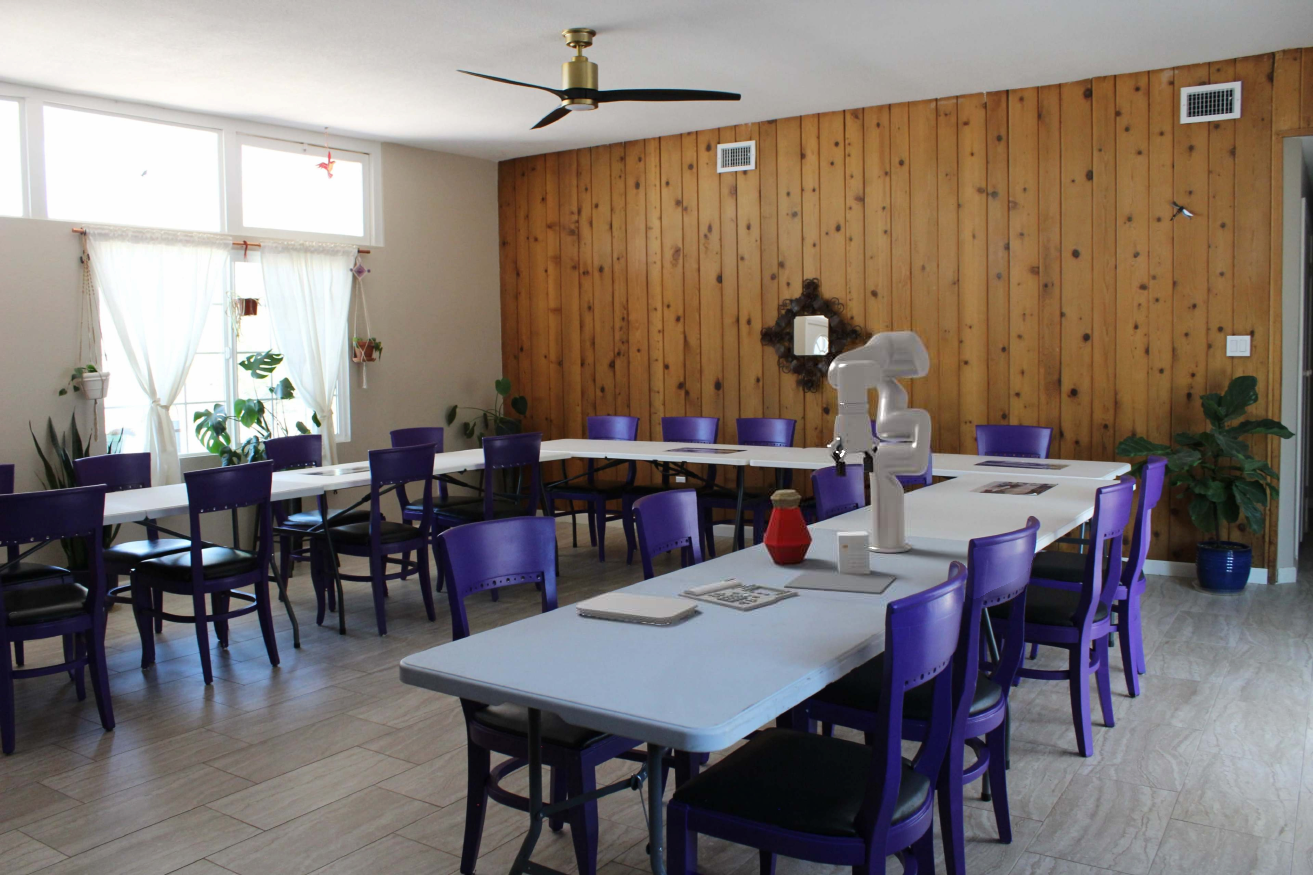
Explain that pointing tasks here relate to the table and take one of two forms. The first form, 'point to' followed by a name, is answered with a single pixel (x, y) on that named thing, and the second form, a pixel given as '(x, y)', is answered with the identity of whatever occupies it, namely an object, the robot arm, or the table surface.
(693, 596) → the office telephone
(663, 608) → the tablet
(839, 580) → the mat
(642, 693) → the table surface
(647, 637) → the table surface
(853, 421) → the robot arm
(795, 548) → the bottle
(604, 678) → the table surface
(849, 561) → the small box
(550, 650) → the table surface
